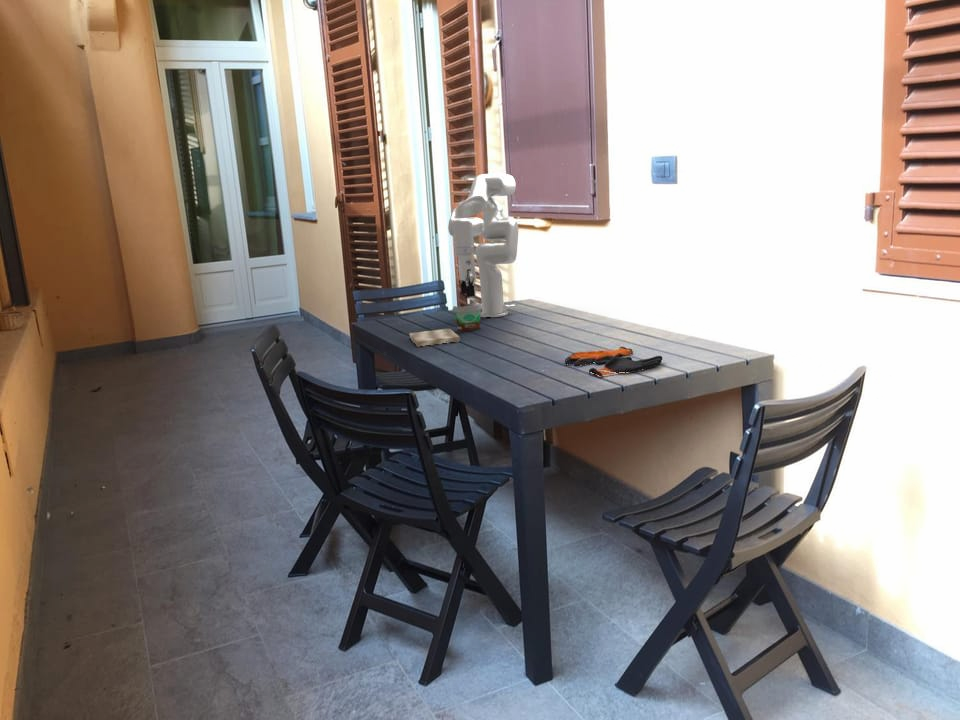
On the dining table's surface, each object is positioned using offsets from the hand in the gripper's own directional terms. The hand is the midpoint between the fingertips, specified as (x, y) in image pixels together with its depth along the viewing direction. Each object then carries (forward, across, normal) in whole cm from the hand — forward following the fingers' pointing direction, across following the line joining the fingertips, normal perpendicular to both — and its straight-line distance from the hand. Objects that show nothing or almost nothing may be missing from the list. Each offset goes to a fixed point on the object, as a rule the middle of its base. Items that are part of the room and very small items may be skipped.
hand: (468, 294), depth 309 cm
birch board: (+15, -10, +17) cm, 24 cm away
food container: (+14, +1, 0) cm, 14 cm away
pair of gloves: (+16, -78, -28) cm, 85 cm away
